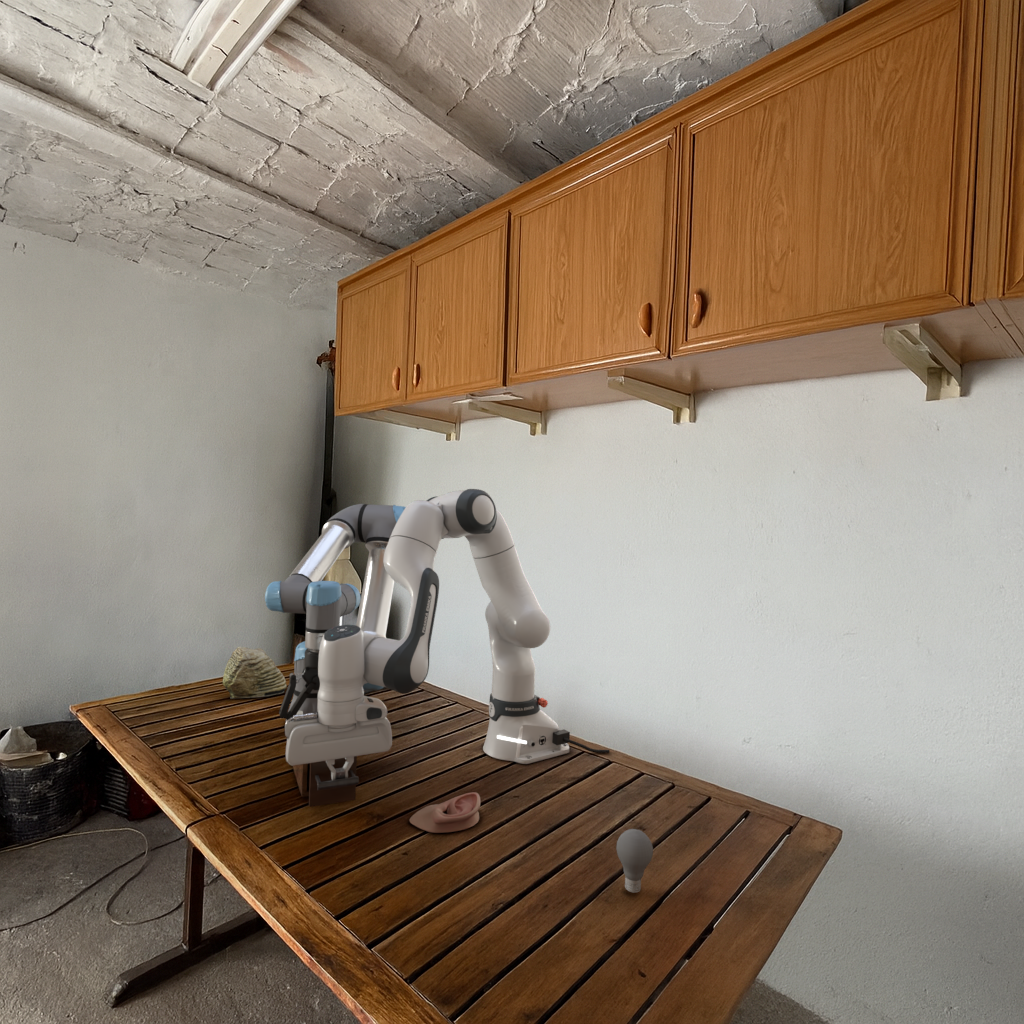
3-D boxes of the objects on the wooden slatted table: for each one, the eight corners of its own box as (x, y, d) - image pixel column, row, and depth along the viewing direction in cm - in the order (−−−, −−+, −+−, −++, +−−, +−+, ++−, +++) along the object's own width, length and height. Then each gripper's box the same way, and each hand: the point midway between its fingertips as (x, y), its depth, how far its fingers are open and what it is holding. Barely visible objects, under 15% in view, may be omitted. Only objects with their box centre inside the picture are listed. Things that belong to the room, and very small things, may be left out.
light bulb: (610, 879, 108) (613, 822, 108) (644, 879, 109) (647, 822, 109) (619, 902, 102) (622, 840, 102) (655, 901, 103) (658, 840, 103)
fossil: (218, 695, 195) (220, 647, 195) (278, 685, 208) (279, 640, 207) (228, 703, 189) (230, 653, 188) (289, 692, 201) (290, 645, 201)
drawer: (361, 812, 124) (362, 766, 125) (313, 820, 121) (315, 773, 121) (340, 769, 145) (342, 729, 145) (299, 774, 141) (300, 734, 141)
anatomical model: (404, 808, 122) (424, 782, 133) (403, 828, 122) (423, 801, 133) (470, 818, 119) (485, 791, 131) (469, 838, 119) (484, 810, 131)
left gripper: (270, 655, 138) (266, 756, 138) (374, 649, 148) (371, 743, 148) (268, 648, 145) (264, 744, 145) (367, 642, 155) (364, 732, 155)
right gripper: (286, 721, 117) (285, 795, 118) (395, 708, 126) (393, 776, 126) (283, 710, 123) (282, 781, 123) (387, 698, 132) (385, 764, 132)
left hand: (318, 744), depth 147 cm, fingers closed on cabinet, 10 cm apart
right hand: (339, 778), depth 125 cm, fingers closed
